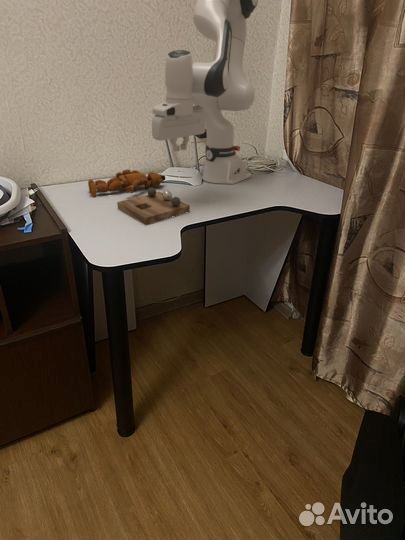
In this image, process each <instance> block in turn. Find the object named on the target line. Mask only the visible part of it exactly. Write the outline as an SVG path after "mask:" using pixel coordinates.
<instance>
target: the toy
mask: <svg viewBox="0 0 405 540" xmlns="http://www.w3.org/2000/svg"><path fill="white" fill-rule="evenodd" d="M165 180H166V175H165V174H163V175H162V174H159V173H158V172H153V171H149V172H148V174H147V175H146V173H143V172H140V171H139V170H135V169H133V170H131V169H124V170H122V172H116V174H115V176H114V177H112V178H110V179H108V180H107V182H106V181H105V180H102V179H101V180H100V179H98V180H95V181H94V179H89V180H88V181H87V184H88V190H89V193H90V194H91V197H92V198H96V196H97V191H98V192H100V193H108V192H116V191H119V190H121V189H125V191H126V192H127V193H128V194H129V193H130V194H133V193H134V191H135V189H137V188H139V187H141V186H144V187H145V188H147V189H149V188H155V189H156V187H157V186H159V185H161V184H163V183H164V182H165Z"/></svg>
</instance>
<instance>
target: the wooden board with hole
mask: <svg viewBox="0 0 405 540" xmlns="http://www.w3.org/2000/svg"><path fill="white" fill-rule="evenodd" d="M162 193H163V192H161V191H156V195H155V196H149V195H148V194H144V195H141V196H137V197H133V198H128V199H124V200H120V201H117V202H116V205H117V210H119V211H121V212H122V213H124V214H126V215H128V216H129V217H131V218H132V219H135V220H137V221H138V222H139V223H142V224H144V225H146V226H148V225H151V224H155V223H158V222H161V220H162V221H164V219H165V220H167V218H168V219H171V218H170V217H172V216H175V217H177V216H176V215H179V214H182V213H185V214H187V213H186V212H189V213H190V205H189V204H187V203H186V202H183V201H181V202H180V205H178V206H173V205H172V203H171V200H172V198H173V196H172V197H171V199H170V200H164V199H163V197H162ZM182 215H183V214H182ZM179 216H180V215H179ZM172 218H173V217H172Z"/></svg>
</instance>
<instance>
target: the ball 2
mask: <svg viewBox="0 0 405 540" xmlns="http://www.w3.org/2000/svg"><path fill="white" fill-rule="evenodd" d="M180 202H182V201H181V199H180V197H177V196H174V197H173V196H172V200H171V203H172V205H173V206H178V205H180Z"/></svg>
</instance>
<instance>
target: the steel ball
mask: <svg viewBox="0 0 405 540" xmlns="http://www.w3.org/2000/svg"><path fill="white" fill-rule="evenodd" d="M161 193H162V197H163V199H164V200H170V199H171V197H172V198H173V193H172V192H171V191H170V190H163V192H161Z"/></svg>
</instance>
